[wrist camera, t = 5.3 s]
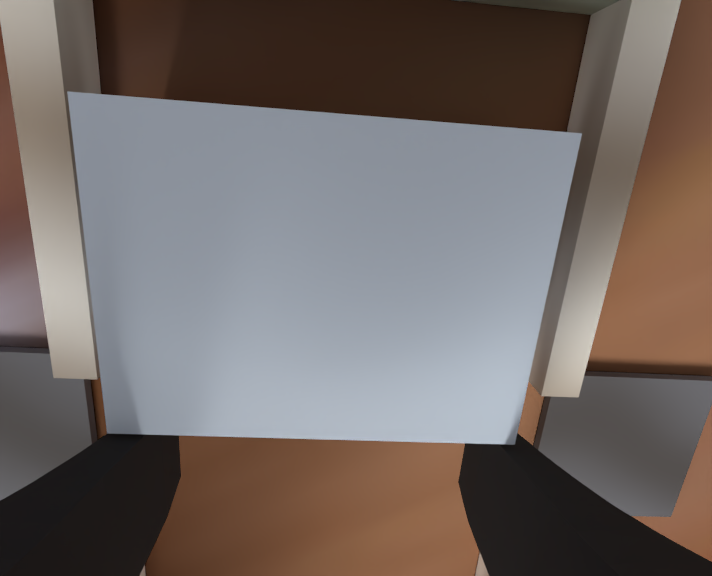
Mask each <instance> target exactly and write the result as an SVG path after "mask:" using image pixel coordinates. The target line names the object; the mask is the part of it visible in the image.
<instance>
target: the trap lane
mask: <svg viewBox="0 0 712 576" xmlns="http://www.w3.org/2000/svg"><path fill="white" fill-rule="evenodd" d="M453 1H463V2H473V3H482V4H492V5H501V6H511V7H520V8H530V9H540V10H549V11H559V12H568V13H578V14H588V15H591V17H590V22H589V26H588V31H587V36H586V41H585V46H584V51H583V56H582V60H581V65H580V70H579V75H578V80H577V85H576V89H575V94H574V99H573V104H572V109H571V114H570V118H569V123H568V128H567V132H571V133H582V136H581V141H580V145H579V150H578V155H577V159H576V164H575V168H574V173H573V178H572V182H571V187H570V192H569V196H568V201H567V205H566V210H565V215H564V219H563V224H562V228H561V233H560V238H559V242H558V247H557V252H556V256H555V261H554V265H553V270H552V275H551V279H550V284H549V289H548V293H547V298H546V302H545V307H544V312H543V316H542V321H541V326H540V330H539V335H538V339H537V344H536V349H535V353H534V358H533V362H532V367H531V372H530V376H529V382H530V383H531V384H532V386H533V387H534V388H535V389H536V390H537V392H538V393H539V394H540V395H541V396H545V398H544V403H543V407H542V411H541V416H540V420H539V424H538V429H537V433H536V437H535V441H534V447H535V448H536V449H538V450H539V451H540V452H541V453H543V454H544V455H545V456H546V457H548V458H549V459H550V460H551V461H553V462H554V463H555V464H557V465H558V466H559V467H561V468H562V469H563V470H564V471H566V472H567V473H569V474H570V475H571V476H573V477H574V478H575V479H577V480H578V481H579V482H581V483H582V484H584V485H585V486H586V487H588V488H589V489H591V490H592V491H594V492H595V493H596V494H598V495H599V496H601V497H602V498H603V499H605V500H606V501H608V502H609V503H611V504H612V505H614V506H615V507H617V508H619V509H620V510H622V511H623V512H625V513H627V514H628V515H630V516H660V517H671V515H672V512H673V510H674V507H675V504H676V501H677V499H678V496H679V493H680V490H681V488H682V485H683V482H684V479H685V477H686V474H687V471H688V468H689V466H690V463H691V460H692V457H693V455H694V452H695V449H696V446H697V444H698V441H699V438H700V436H701V433H702V430H703V427H704V425H705V422H706V419H707V416H708V414H709V411H710V408H711V405H712V376H694V375H670V374H646V373H622V372H598V371H586V367H587V363H588V359H589V355H590V351H591V347H592V343H593V340H594V336H595V332H596V328H597V324H598V320H599V316H600V313H601V309H602V305H603V301H604V297H605V293H606V289H607V285H608V282H609V278H610V274H611V270H612V266H613V262H614V258H615V255H616V251H617V247H618V243H619V239H620V235H621V231H622V227H623V224H624V220H625V216H626V212H627V208H628V204H629V200H630V196H631V193H632V189H633V185H634V181H635V177H636V173H637V169H638V166H639V162H640V158H641V154H642V150H643V146H644V142H645V138H646V135H647V131H648V127H649V123H650V119H651V115H652V111H653V108H654V104H655V100H656V96H657V92H658V88H659V84H660V80H661V77H662V73H663V69H664V65H665V61H666V57H667V53H668V50H669V46H670V42H671V38H672V34H673V30H674V26H675V22H676V19H677V15H678V11H679V7H680V3H681V0H453ZM0 23H1V29H2V36H3V43H4V49H5V56H6V63H7V69H8V76H9V83H10V90H11V96H12V103H13V110H14V116H15V123H16V130H17V136H18V143H19V150H20V156H21V163H22V170H23V177H24V183H25V190H26V197H27V203H28V210H29V217H30V223H31V230H32V237H33V244H34V250H35V257H36V264H37V270H38V277H39V284H40V290H41V297H42V304H43V310H44V317H45V324H46V331H47V337H48V344H49V348H25V347H1V346H0V500H2V499H4V498H6V497H8V496H9V495H11V494H13V493H15V492H16V491H18V490H20V489H22V488H23V487H25V486H27V485H29V484H30V483H32V482H34V481H35V480H37V479H38V478H40V477H42V476H43V475H45V474H46V473H48V472H50V471H51V470H53V469H54V468H56V467H57V466H59V465H61V464H62V463H64V462H65V461H67V460H69V459H70V458H72V457H73V456H75V455H77V454H78V453H80V452H81V451H83V450H84V449H86V448H87V447H88V446H90V445H91V444H93V443H94V442H96V441H97V432H96V423H95V415H94V407H93V399H92V390H91V382H90V379H96V380H97V379H98V378H99V377H100V368H99V360H98V351H97V343H96V334H95V325H94V317H93V308H92V300H91V291H90V283H89V274H88V265H87V257H86V248H85V240H84V231H83V222H82V214H81V205H80V197H79V188H78V180H77V171H76V162H75V154H74V145H73V137H72V128H71V119H70V111H69V102H68V94H67V91H69V92H81V93H93V94H101V87H100V76H99V65H98V54H97V44H96V33H95V22H94V11H93V0H0ZM140 576H146V573H145V565H144V567H143V569H142V571H141V574H140ZM475 576H489V574H488V572H487V569H486V567H485V564H484V561H483V559H482V556H481V554H479V559H478V564H477V569H476V574H475Z"/></svg>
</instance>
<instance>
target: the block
mask: <svg viewBox="0 0 712 576" xmlns="http://www.w3.org/2000/svg"><path fill="white" fill-rule="evenodd" d="M67 94H68V102H69V111H70V119H71V128H72V137H73V145H74V154H75V162H76V171H77V180H78V188H79V197H80V205H81V214H82V222H83V231H84V240H85V248H86V257H87V265H88V274H89V283H90V291H91V300H92V308H93V317H94V325H95V334H96V343H97V351H98V360H99V368H100V377H101V386H102V394H103V403H104V411H105V420H106V429H107V433H109V434H146V435H182V436H218V437H254V438H291V439H327V440H363V441H399V442H436V443H472V444H508V445H515V441H516V436H517V432H518V427H519V423H520V418H521V413H522V409H523V404H524V399H525V395H526V390H527V386H528V381H529V376H530V372H531V367H532V362H533V358H534V353H535V349H536V344H537V339H538V335H539V330H540V326H541V321H542V316H543V312H544V307H545V302H546V298H547V293H548V289H549V284H550V279H551V275H552V270H553V265H554V261H555V256H556V252H557V247H558V242H559V238H560V233H561V228H562V224H563V219H564V215H565V210H566V205H567V201H568V196H569V192H570V187H571V182H572V178H573V173H574V168H575V164H576V159H577V155H578V150H579V145H580V141H581V136H582V133H571V132H559V131H547V130H534V129H522V128H510V127H498V126H485V125H473V124H461V123H449V122H436V121H424V120H412V119H400V118H387V117H375V116H363V115H351V114H338V113H326V112H314V111H302V110H289V109H277V108H265V107H252V106H240V105H228V104H216V103H203V102H191V101H179V100H167V99H154V98H142V97H130V96H118V95H105V94H93V93H81V92H69V91H67Z"/></svg>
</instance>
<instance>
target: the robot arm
mask: <svg viewBox="0 0 712 576" xmlns="http://www.w3.org/2000/svg"><path fill="white" fill-rule="evenodd" d="M180 477H181V471H180V452H179V435H146V434H109V433H108V434H106V435H105V436H103V437H102V438H100V439H99V440H97V441H96V442H94V443H93V444H91V445H90V446H88V447H87V448H86V449H84V450H83V451H81V452H80V453H78V454H77V455H75V456H73V457H72V458H70V459H69V460H67V461H65V462H64V463H62V464H61V465H59V466H57V467H56V468H54V469H53V470H51V471H50V472H48V473H46V474H45V475H43V476H42V477H40V478H38V479H37V480H35V481H34V482H32V483H30V484H29V485H27V486H25V487H23V488H22V489H20V490H18V491H16V492H15V493H13V494H11V495H9V496H8V497H6V498H4V499H2V500H0V576H140V574H141V571H142V569H143V567H144V565H145V563H146V561H147V559H148V557H149V555H150V553H151V550H152V548H153V546H154V544H155V542H156V540H157V538H158V536H159V533H160V531H161V529H162V527H163V525H164V523H165V520H166V518H167V516H168V513H169V510H170V507H171V504H172V501H173V498H174V495H175V492H176V489H177V486H178V483H179V480H180ZM459 486H460V490H461V495H462V499H463V503H464V507H465V511H466V514H467V518H468V522H469V525H470V527H471V530H472V533H473V535H474V538H475V541H476V543H477V546H478V549H479V551H480V554H481V556H482V559H483V561H484V564H485V567H486V569H487V572H488V574H489V576H712V562H711V561H709V560H707V559H705V558H703V557H701V556H699V555H698V554H696V553H694V552H692V551H690V550H688V549H686V548H685V547H683V546H681V545H679V544H677V543H675V542H673V541H672V540H670V539H668V538H666V537H665V536H663V535H661V534H659V533H658V532H656V531H654V530H652V529H651V528H649V527H648V526H646V525H644V524H643V523H641V522H639V521H638V520H636V519H635V518H633V517H631V516H630V515H628V514H627V513H625V512H623V511H622V510H620V509H619V508H617V507H615V506H614V505H612V504H611V503H609V502H608V501H606V500H605V499H603V498H602V497H601V496H599V495H598V494H596V493H595V492H594V491H592V490H591V489H589V488H588V487H586V486H585V485H584V484H582V483H581V482H579V481H578V480H577V479H575V478H574V477H573V476H571V475H570V474H569V473H567V472H566V471H564V470H563V469H562V468H561V467H559V466H558V465H557V464H555V463H554V462H553V461H551V460H550V459H549V458H548V457H546V456H545V455H544V454H543V453H541V452H540V451H539V450H538V449H536V448H535V447H534V446H532V445H531V444H530V443H529V442H528V441H526V440H525V439H524V438H523V437H521V436H520V435H519V434H518V433H517V436H516V441H515V445H508V444H472V443H465V448H464V454H463V459H462V465H461V471H460V476H459Z"/></svg>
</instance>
